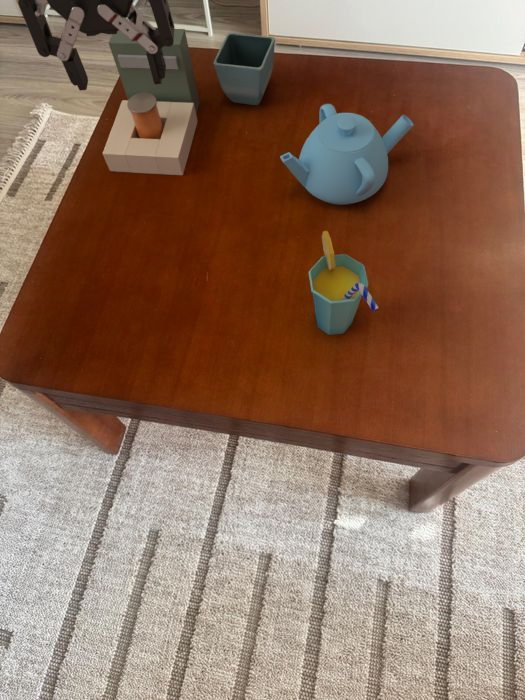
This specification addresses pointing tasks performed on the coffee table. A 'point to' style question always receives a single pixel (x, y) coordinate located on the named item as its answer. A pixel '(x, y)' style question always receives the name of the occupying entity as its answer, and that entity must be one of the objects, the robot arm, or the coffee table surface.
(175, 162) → the hollow square tile
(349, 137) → the teapot
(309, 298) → the coffee table surface
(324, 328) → the cup
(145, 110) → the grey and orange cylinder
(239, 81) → the flower pot
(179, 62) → the green upright block
